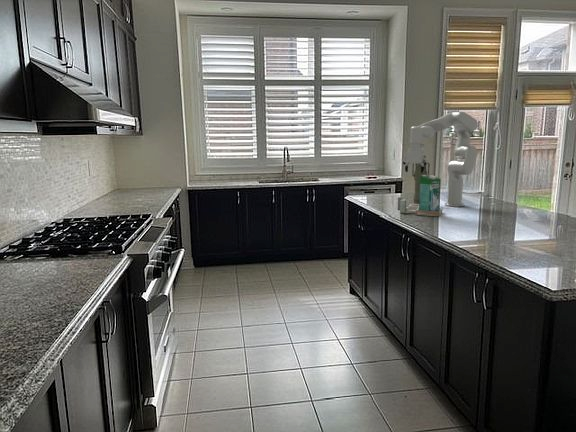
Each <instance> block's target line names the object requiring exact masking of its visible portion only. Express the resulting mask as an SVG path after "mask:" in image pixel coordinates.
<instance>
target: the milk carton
mask: <svg viewBox="0 0 576 432" xmlns="http://www.w3.org/2000/svg"><path fill="white" fill-rule="evenodd" d="M441 180H442V179H441V178H440V177H438V176H436V175H432V174H430V173H429V175H428V174H427V175H420V192H419V210H425V211H439V209H440V208H441V206H440V205H441V182H442V181H441Z"/></svg>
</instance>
